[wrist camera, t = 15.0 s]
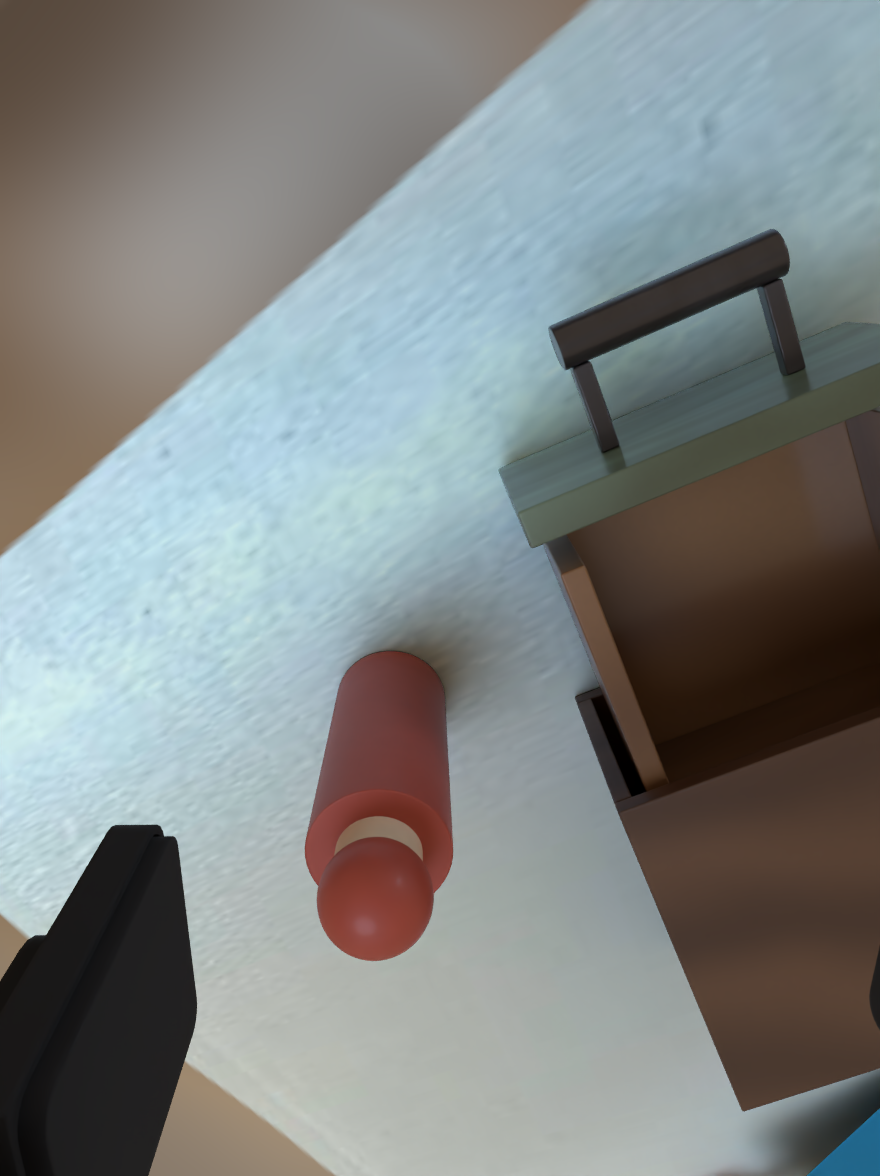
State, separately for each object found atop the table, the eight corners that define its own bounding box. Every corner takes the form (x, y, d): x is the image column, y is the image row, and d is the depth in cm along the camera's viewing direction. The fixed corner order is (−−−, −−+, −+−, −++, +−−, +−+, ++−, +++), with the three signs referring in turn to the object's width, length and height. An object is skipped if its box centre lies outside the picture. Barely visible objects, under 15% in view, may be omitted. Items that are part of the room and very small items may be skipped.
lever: (904, 960, 45) (650, 1190, 43) (1023, 1051, 38) (727, 1327, 37) (956, 1040, 47) (714, 1262, 45) (1077, 1139, 40) (799, 1405, 38)
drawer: (452, 358, 29) (460, 375, 23) (816, 197, 28) (930, 169, 21) (617, 762, 34) (659, 865, 28) (927, 646, 33) (1044, 727, 27)
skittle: (332, 653, 34) (276, 873, 21) (442, 647, 34) (453, 863, 21) (342, 750, 35) (296, 1010, 22) (447, 744, 35) (461, 1001, 22)
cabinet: (574, 696, 34) (618, 813, 27) (914, 565, 33) (1066, 649, 25) (679, 949, 39) (742, 1112, 31) (983, 845, 37) (1130, 989, 29)
